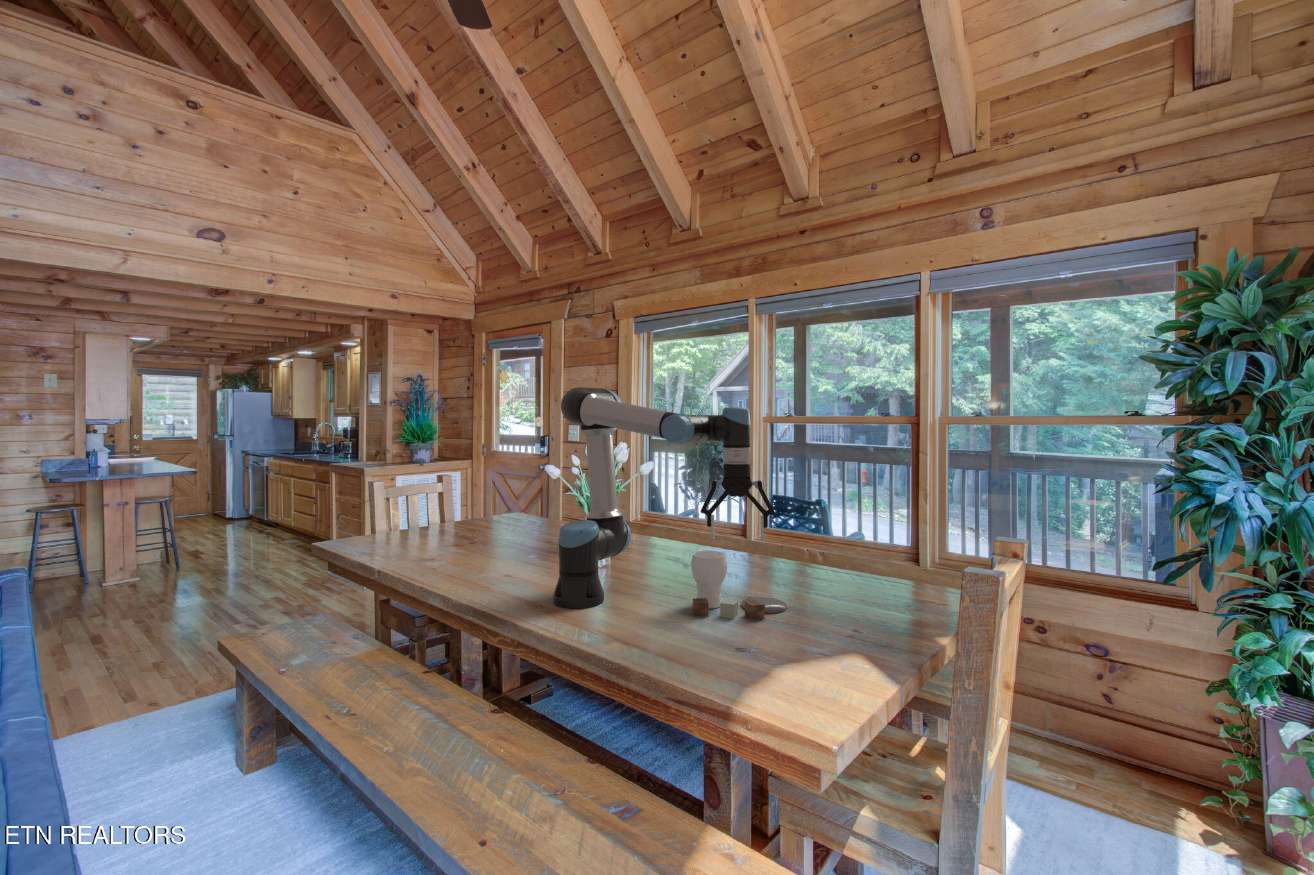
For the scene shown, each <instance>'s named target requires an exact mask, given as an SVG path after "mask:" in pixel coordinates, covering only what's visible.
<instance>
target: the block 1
mask: <svg viewBox="0 0 1314 875" xmlns="http://www.w3.org/2000/svg"><path fill="white" fill-rule="evenodd" d="M709 610H710V608H709V603H708V600H707V598H697V597H696V598H695V597H694V598H692V615H693V618H694V617H695V618H699V617H700V618H703V617H704V618H708V617H709V615H710V614H709Z"/></svg>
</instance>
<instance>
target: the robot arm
mask: <svg viewBox="0 0 1314 875" xmlns="http://www.w3.org/2000/svg"><path fill="white" fill-rule="evenodd" d="M560 410H561V413H562V415H563V418H564V419H566V421H568V422H569V423H572V424H574V425H579V426H580V433H582V434H583V435H584V436H585V441H586V444H585V445H586V457H587V460H586V461H587V471H588V474H587V475H588V489H589V502H590V506H589V507H590V512H589V513H588V514H587V515H586V519H580V520H578V521H577V520H576V521H574V520H573V521H570V522H567V523H565V524H563V525H562V526H561V527H560V529H559V532H558V533H559V534H558V570H559V571H558V572H559V573H558V575H559V576H558V579H557V582H556V585H555V588H554V592H553V596H552V597H553V599H552V600H553V604H554V605H556V606H557V607H561V608H565V609H584V608H585V609H586V608H592V607H596V606H598V605H601V604H603V603H604V600H605V592H604V588H603V585H602V583H601V579H600V576H599V561H602V560H605V559H608V558H612V557H616V556H618V555H619V554H621V553H623V552H624V551H625V550H627V548H629V547H628V546H629V544H630V542H631V538H632V536H631V535H632V532H631V528H630V525H629V524H627V521H626V520H624V516H623V512H622V511H621V510H619V509H618V497H617V496H618V495H617V483H616V482H617V481H616V468H615V452H614V451H615V450H614V436H613V435H614V433H616V431H617V430H618V429H619V430H622V431H627V432H631V433H636V434H641V435H645V436H649V437H650V436H651V437H656V438H660V439H664V440H666V441H667V442H669V443H673V444H680V445H681V444H685V443H698V442H699V443H700V442H701V443H702V442H722V460H723V462H724V463H723V464H722V474H723V475H722V477H723V478H722V480H721V481H720V480H716V479H713V480H712V481H711V488H710V490H709V492H708V494H707V497H706V499H705V500H704V502H703V505H702V507H701V509H700V513H701V514H704V515H706V520H707V521H706V526H707V527H708V528H710V531H711V532H710V533H711V534H710V538H711V540H715V514H713V513H714V512H715V511H716V509H717V508H718V507H719V506H720V505H721V504H722V502H723V501H725V499H726V498H727V497H728V496H730V497H740V498H741V497H742V498H743V497H744V496H746V497H747V498H748V499H749V500H750V501H751V502H752V504H753V505H754V506H755V507H756V508H757V510H758V511H759V512H760V513H761V515H760V519H759V521H760V541H764V539H765V536H764V534H765V533H764V531H765V530H764V529H765V528H766V529H767V528H768V526H769V522H768V520H769V516H770V515H774V514H775V510H774V507H773V505H772V503H771V502H770V500H769V498H768V496H767V494H766V492H765V490H764V488H763V481H762V480H761V479H758V480H754V481H753V480H751V477H752V475H751V464H750V463H749V462H751V424H752V423H751V416H750V415H751V414H750V410H749V408H747V407H745V406H744V407H741V406H740V407H739V406H738V407H724V408H723V409H722V414H682V413H677V412H671V411H667V410H661V409H656V408H651V407H645V406H640V405H635V404H630V403H625V402H622V401H621V399H620V397H619V395H617V394H616V393H615V392H614V391H613V390H611V389H606V388H603V387H602V388H599V387H598V388H597V387H584V386H583V387H582V386H576V387H573V388H571V389H569V390H567V391H566V392H565V393H564V395H563V396H562V399H561V401H560ZM720 486H721V487H722V488H723V489H724V491H723V492H722V493H721V495H720V496H719V497H718V498H717V500H716V501H715V502H714V503H713V504H712V505H711V506H710V508H709V509H707V508H708V506H709V504H710V502H711V500H712V499H713V496H714V494H715V492H716V489H718V488H719V487H720ZM752 487H755V489H757V490H758V492H759V494H760V496H761V498H762V500H763V501H764V504H765V506H766V508H767V510H766V509H765V508H764V507H763V505H762V504H761V502H760V501H758V500H757V498H756V497H755V496H754V495H753V493H752V492H751V491H750V489H751V488H752Z"/></svg>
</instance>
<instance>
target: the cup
mask: <svg viewBox="0 0 1314 875" xmlns="http://www.w3.org/2000/svg"><path fill="white" fill-rule="evenodd" d="M690 562H691V563H690V569H691V573H692V576H693V579H694V581H695V583H696V588H697V590H696V591H697V594H696V595H697V596H696V598H707V600H708V603H709V609H718V608H720V603H721V602H722V601H723V598H722V593H721V592H722V584H723V583H724V580H725V579H726V576H727V572H728V560H727V555H726V554H725V552H722V551H717V550H698V551H695V552H694V553H692V556H691V561H690Z"/></svg>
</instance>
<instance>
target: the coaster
mask: <svg viewBox="0 0 1314 875" xmlns="http://www.w3.org/2000/svg"><path fill="white" fill-rule="evenodd" d="M754 600H758V601H760V602H762V603H763V604H765V615H769V614H770V615H773V614H780V613H783V612H785V611H786V610H787V603H786V602H785V601H783V600H781V599H778V598H774V597H768V596H753V597H747V598H745V599H743V600H742V601H741V604H740V606H741V607H742V609H744V610H745V601H754Z"/></svg>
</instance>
